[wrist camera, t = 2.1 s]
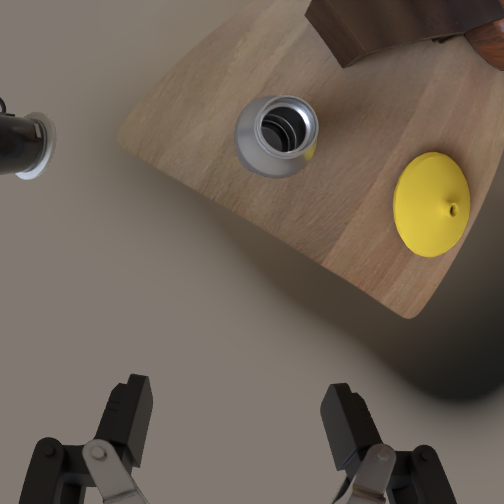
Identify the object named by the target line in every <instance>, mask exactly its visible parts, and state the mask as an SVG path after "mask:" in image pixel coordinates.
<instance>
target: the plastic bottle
mask: <svg viewBox="0 0 504 504" xmlns="http://www.w3.org/2000/svg"><path fill="white" fill-rule="evenodd" d="M318 129H319V126H318V119H317V116H316V113H315V111H314V110H313V108H312V107H311V106H310V105H309V104H308V103H307V102H306V101H304V100H303V99H301V98H299V97H296V96H292V95H282V96H280V95H270V96H264V97H261V98H259V99H256V100H254V101H253V102H251V103H250V104H249V105H248V106H247V107H246V108H245V109H244V110H243V111H242V112H241V114H240V115H239V117H238V120H237V122H236V125H235V130H234V142H235V147H236V154H237V157H238V159H239V161H240V162H241V164H242V165H243V166H244V167H245V168H246V169H248V170H250V171H251V172H254V173H257V174H259V175H262V176H264V177H268V178H285V177H290V176H292V175H294V174H296V173H298V172H299V171H301V170H302V169H304V167H305V166H306V165H307V164H308V163H309V162H310V160H311V159H312V157H313V155H314V152H315V150H316V145H317V135H318Z"/></svg>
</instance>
